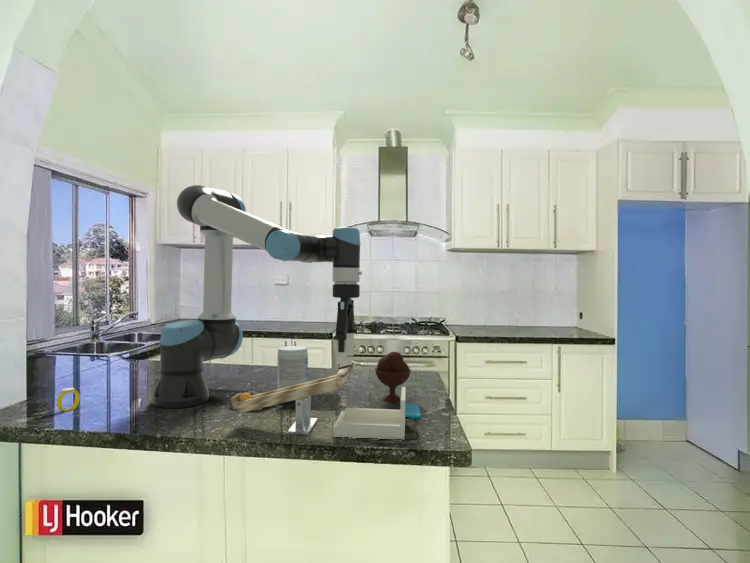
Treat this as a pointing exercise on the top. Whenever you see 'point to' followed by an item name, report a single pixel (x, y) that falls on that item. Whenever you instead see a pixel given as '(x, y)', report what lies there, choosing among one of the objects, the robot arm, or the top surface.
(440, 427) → the top surface
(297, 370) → the supplement tub
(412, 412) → the sponge
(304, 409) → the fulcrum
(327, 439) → the top surface
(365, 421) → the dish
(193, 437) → the top surface
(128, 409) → the top surface
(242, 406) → the beige angled channel
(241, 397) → the ball
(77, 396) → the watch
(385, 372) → the ice cream bowl
